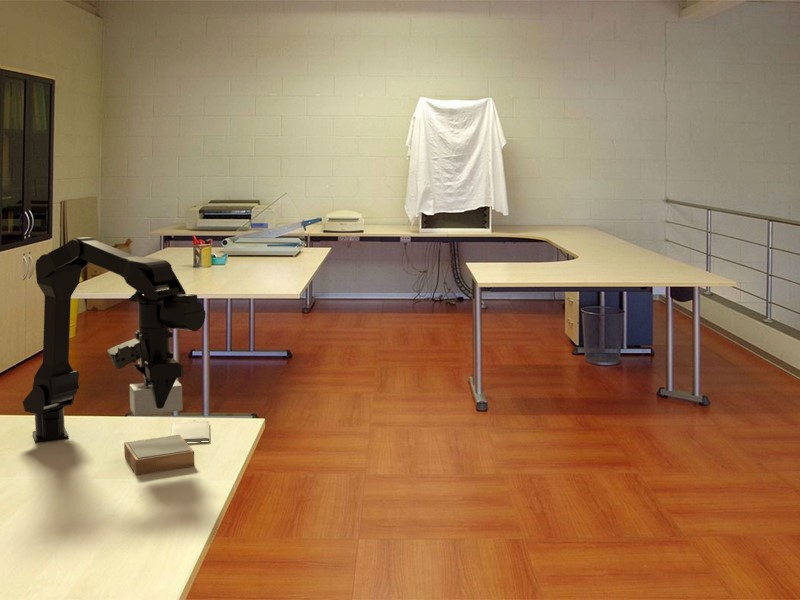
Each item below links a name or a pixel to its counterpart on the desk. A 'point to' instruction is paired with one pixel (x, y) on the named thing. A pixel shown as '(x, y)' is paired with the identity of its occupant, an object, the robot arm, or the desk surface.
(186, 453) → the stand
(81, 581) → the desk surface
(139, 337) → the robot arm
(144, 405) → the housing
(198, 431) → the hard drive
